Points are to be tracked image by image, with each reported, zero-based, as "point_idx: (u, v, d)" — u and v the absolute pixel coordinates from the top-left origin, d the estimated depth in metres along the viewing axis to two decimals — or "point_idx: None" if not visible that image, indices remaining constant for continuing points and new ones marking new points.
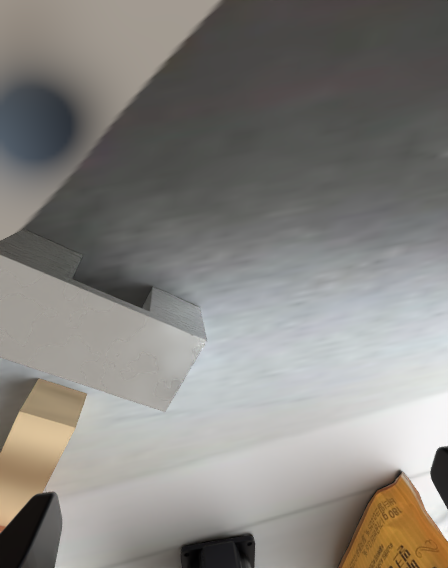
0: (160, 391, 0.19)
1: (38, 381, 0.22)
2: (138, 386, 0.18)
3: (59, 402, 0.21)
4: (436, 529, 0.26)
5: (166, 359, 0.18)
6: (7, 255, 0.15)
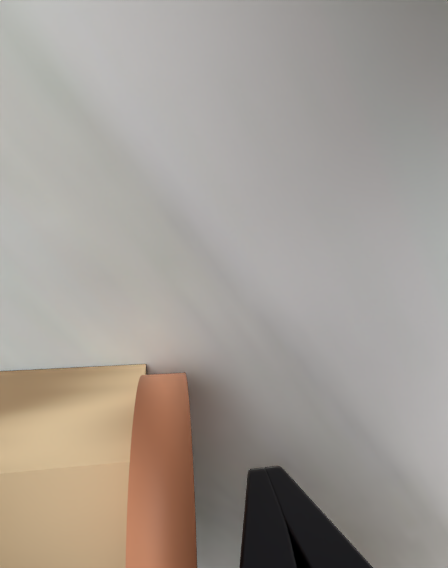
0: None
1: None
2: None
3: None
4: None
5: None
6: None
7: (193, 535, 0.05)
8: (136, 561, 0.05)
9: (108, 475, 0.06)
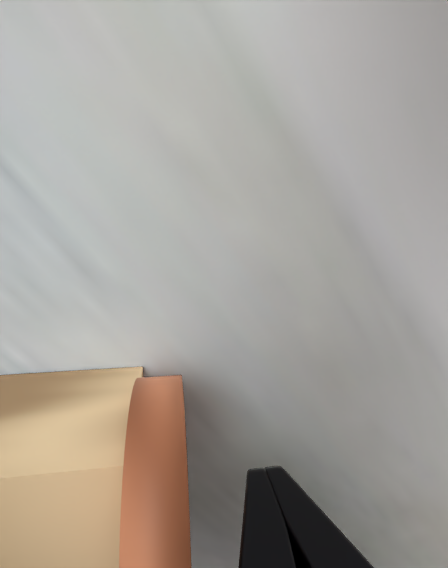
0: None
1: None
2: None
3: None
4: None
5: None
6: None
7: (187, 540, 0.05)
8: (130, 567, 0.05)
9: (103, 479, 0.06)
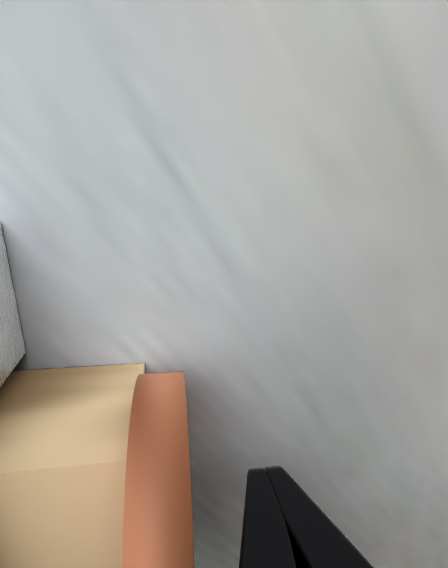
0: None
1: None
2: None
3: None
4: None
5: None
6: None
7: (190, 533, 0.05)
8: (133, 559, 0.05)
9: (105, 473, 0.06)
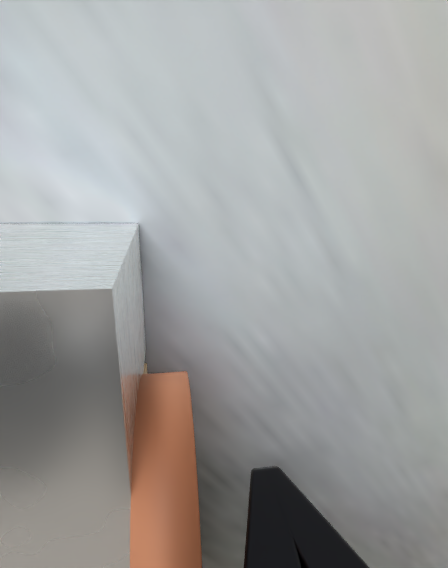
0: (16, 357, 0.04)
1: None
2: (46, 436, 0.04)
3: None
4: None
5: None
6: None
7: (197, 534, 0.05)
8: (140, 561, 0.05)
9: None
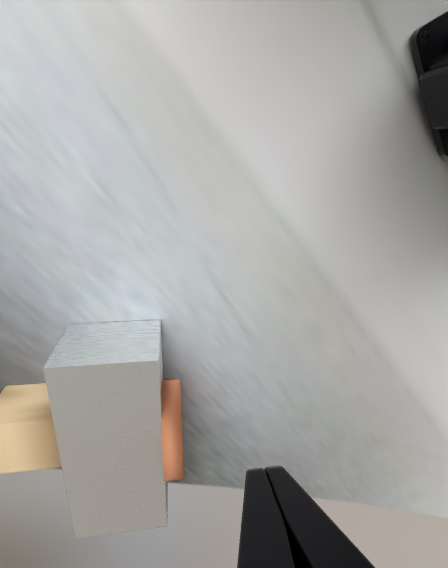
0: (133, 377, 0.16)
1: None
2: (139, 399, 0.16)
3: None
4: None
5: (91, 391, 0.16)
6: (74, 524, 0.19)
7: (181, 428, 0.17)
8: (164, 434, 0.17)
9: None
